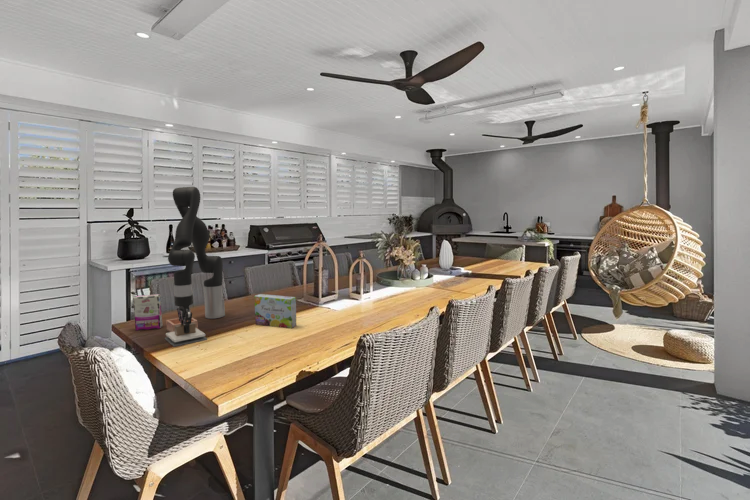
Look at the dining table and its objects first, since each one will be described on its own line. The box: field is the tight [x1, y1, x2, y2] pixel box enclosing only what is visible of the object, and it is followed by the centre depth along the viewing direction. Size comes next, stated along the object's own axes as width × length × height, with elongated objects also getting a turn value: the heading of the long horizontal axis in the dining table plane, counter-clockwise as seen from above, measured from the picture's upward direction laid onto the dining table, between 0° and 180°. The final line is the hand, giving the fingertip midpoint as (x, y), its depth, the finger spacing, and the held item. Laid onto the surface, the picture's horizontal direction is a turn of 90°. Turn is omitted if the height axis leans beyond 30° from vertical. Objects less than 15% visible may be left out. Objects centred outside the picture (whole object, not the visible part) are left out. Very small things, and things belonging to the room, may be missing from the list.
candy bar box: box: [132, 293, 163, 331], centre depth 202 cm, size 11×5×16 cm, turn 105°
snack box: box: [253, 293, 297, 330], centre depth 207 cm, size 21×6×15 cm, turn 71°
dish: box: [165, 317, 199, 333], centre depth 198 cm, size 11×11×5 cm
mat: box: [164, 336, 208, 348], centre depth 185 cm, size 14×14×1 cm
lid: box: [165, 323, 206, 342], centre depth 185 cm, size 13×13×5 cm
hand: (185, 331), depth 185 cm, fingers closed on lid, 3 cm apart
